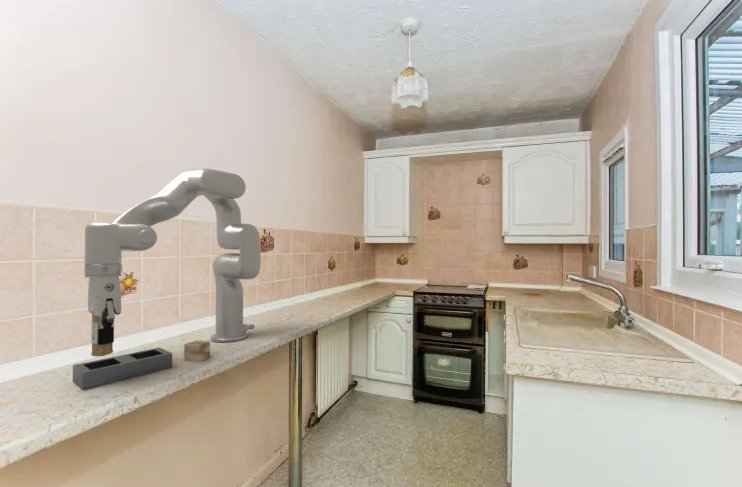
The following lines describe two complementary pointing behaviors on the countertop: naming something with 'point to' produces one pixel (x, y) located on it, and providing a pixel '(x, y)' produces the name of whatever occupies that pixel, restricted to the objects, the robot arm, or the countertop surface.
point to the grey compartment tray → (120, 367)
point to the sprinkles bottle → (97, 349)
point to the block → (197, 351)
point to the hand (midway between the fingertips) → (102, 341)
